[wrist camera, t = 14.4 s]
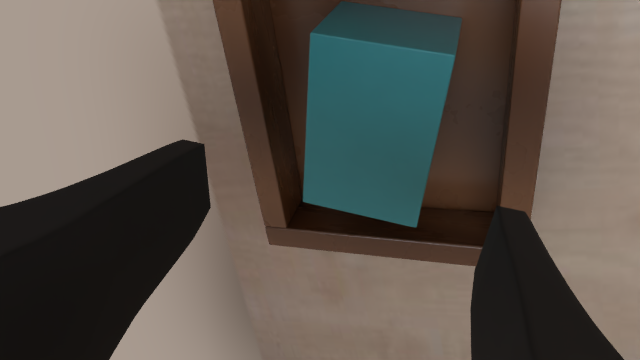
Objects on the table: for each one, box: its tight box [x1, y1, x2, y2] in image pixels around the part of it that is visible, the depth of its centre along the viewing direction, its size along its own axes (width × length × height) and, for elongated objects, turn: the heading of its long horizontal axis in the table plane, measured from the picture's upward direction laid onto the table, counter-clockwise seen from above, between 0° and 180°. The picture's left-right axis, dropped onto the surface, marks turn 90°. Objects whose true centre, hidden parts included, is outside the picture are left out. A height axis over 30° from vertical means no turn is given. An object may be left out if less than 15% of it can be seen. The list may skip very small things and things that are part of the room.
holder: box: [213, 0, 562, 266], centre depth 17 cm, size 12×10×3 cm
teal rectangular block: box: [303, 1, 462, 227], centre depth 16 cm, size 4×6×4 cm, turn 177°
